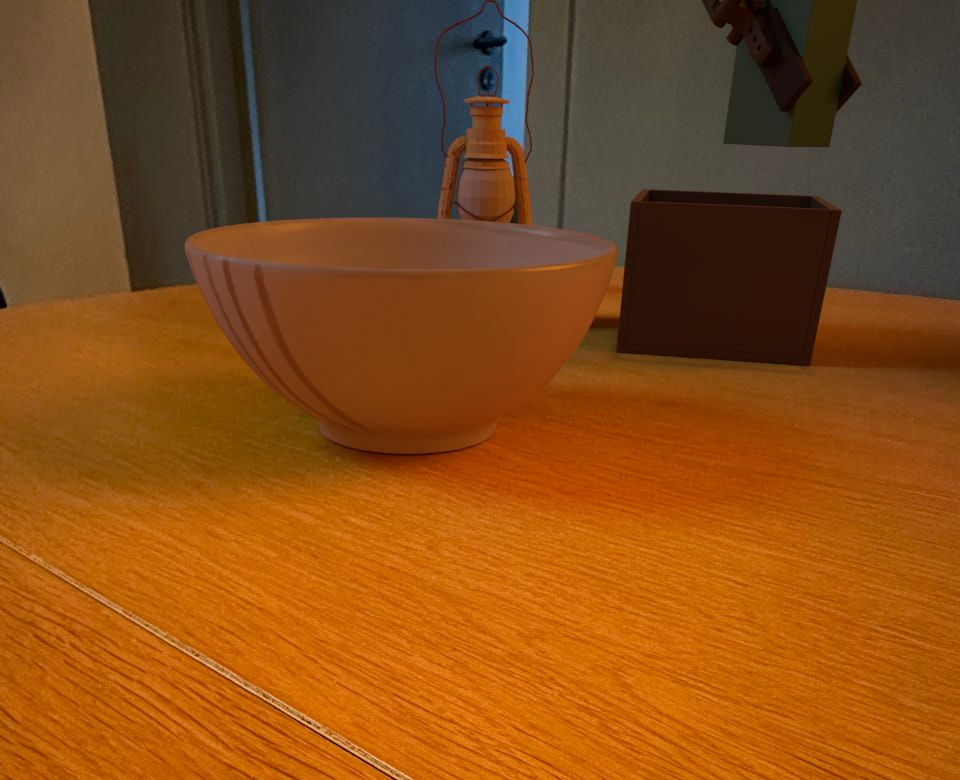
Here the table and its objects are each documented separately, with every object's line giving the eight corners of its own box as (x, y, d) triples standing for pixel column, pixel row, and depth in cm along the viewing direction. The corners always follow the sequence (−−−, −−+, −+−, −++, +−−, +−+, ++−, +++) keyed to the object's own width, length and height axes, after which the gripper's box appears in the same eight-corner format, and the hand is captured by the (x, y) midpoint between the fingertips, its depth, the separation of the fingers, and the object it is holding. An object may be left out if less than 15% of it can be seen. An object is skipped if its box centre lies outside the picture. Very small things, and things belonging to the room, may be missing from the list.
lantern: (437, 296, 108) (436, -9, 93) (433, 283, 117) (432, 2, 102) (535, 297, 109) (550, -4, 94) (524, 284, 118) (536, 6, 103)
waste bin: (793, 328, 96) (818, 195, 90) (810, 365, 81) (842, 210, 75) (629, 317, 99) (642, 189, 93) (616, 352, 84) (630, 201, 78)
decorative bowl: (137, 478, 53) (97, 257, 47) (286, 370, 76) (272, 211, 69) (594, 512, 50) (616, 281, 44) (604, 388, 73) (620, 225, 67)
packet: (762, 144, 74) (789, -20, 69) (830, 147, 69) (864, -29, 64) (721, 143, 72) (745, -25, 67) (788, 146, 67) (819, -36, 62)
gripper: (752, -86, 77) (863, 139, 74) (588, -113, 70) (702, 136, 66) (813, -181, 71) (938, 59, 67) (638, -224, 63) (769, 46, 59)
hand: (821, 97), depth 66 cm, fingers closed on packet, 4 cm apart
